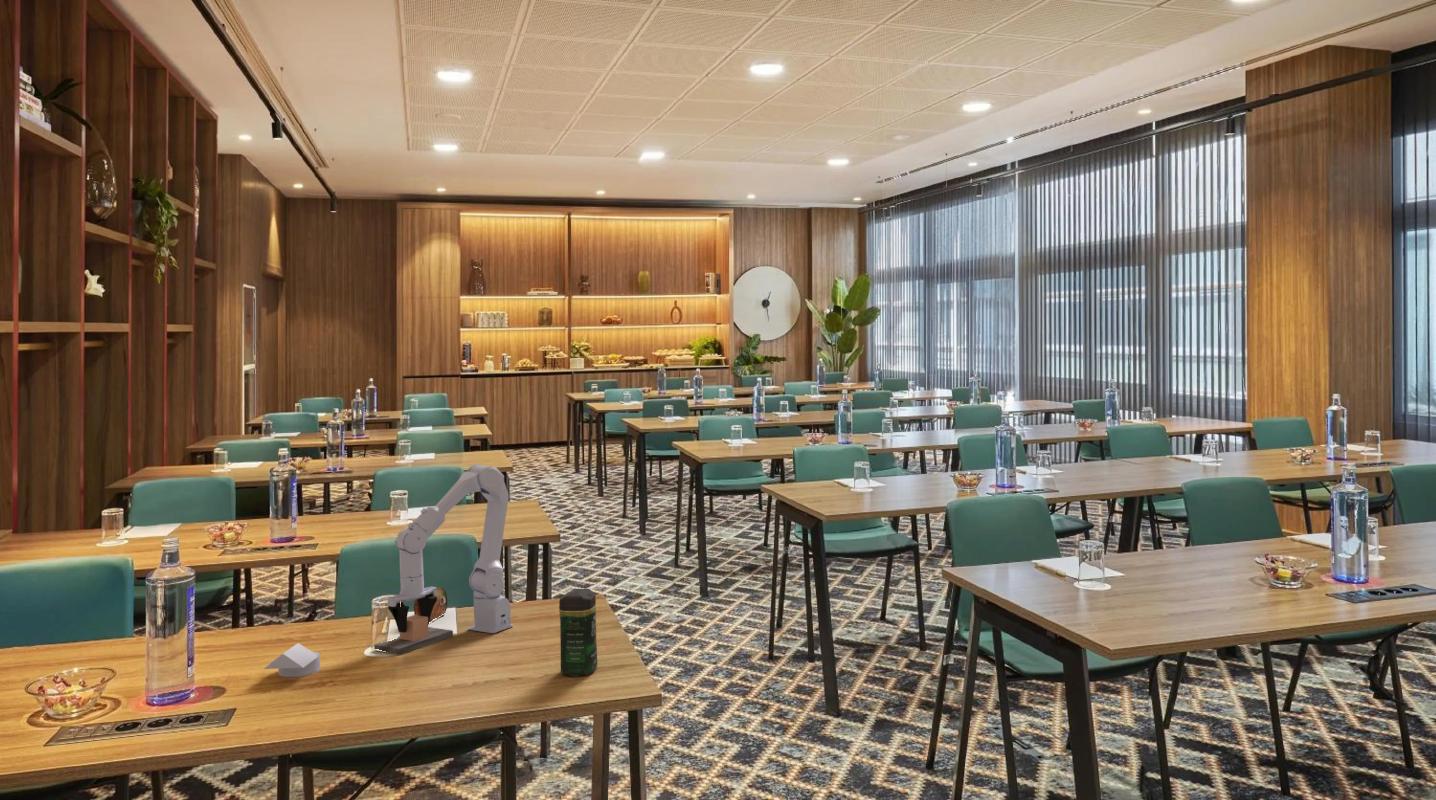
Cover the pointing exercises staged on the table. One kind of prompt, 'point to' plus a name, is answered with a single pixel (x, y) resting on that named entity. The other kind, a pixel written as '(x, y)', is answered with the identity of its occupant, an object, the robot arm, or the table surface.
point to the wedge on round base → (296, 662)
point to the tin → (438, 607)
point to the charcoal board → (414, 642)
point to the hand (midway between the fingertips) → (414, 628)
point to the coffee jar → (578, 632)
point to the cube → (415, 628)
